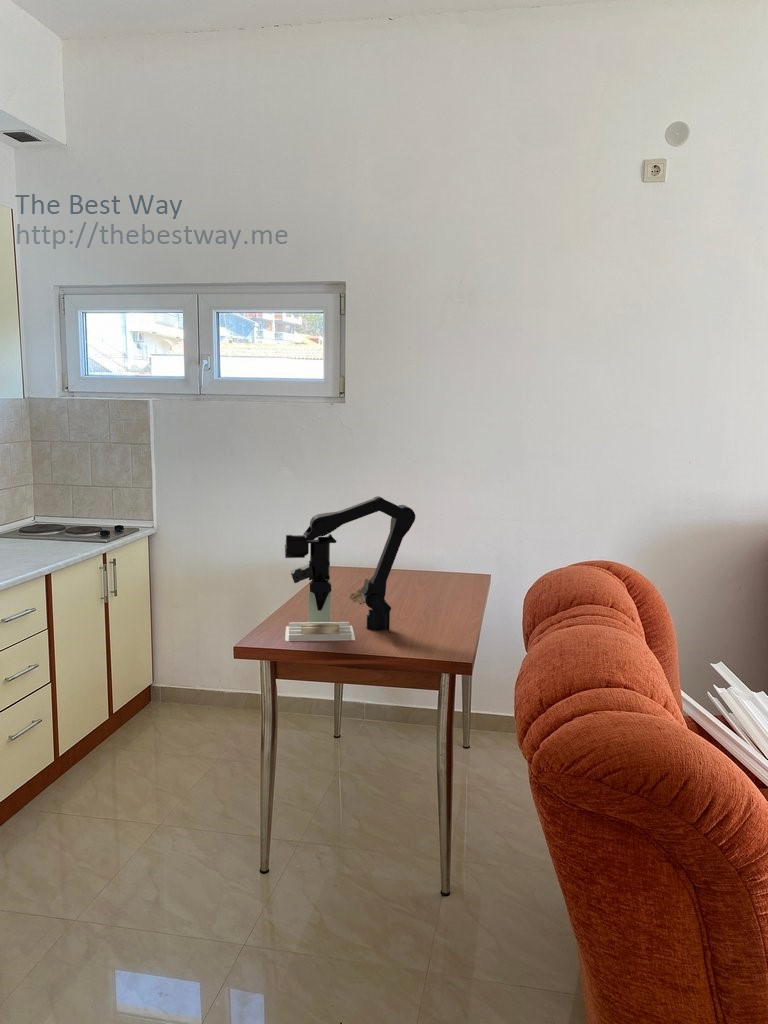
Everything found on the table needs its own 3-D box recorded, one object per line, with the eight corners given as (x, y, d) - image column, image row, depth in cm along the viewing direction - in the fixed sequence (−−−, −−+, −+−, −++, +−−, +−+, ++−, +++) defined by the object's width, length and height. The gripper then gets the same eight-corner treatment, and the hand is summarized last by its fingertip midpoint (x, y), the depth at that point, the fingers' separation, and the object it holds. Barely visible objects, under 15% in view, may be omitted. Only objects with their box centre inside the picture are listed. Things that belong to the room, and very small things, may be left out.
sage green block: (329, 619, 236) (330, 589, 235) (330, 621, 233) (330, 592, 232) (308, 619, 235) (308, 589, 234) (308, 621, 232) (308, 592, 231)
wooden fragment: (362, 587, 296) (362, 584, 296) (390, 589, 294) (390, 587, 293) (340, 603, 272) (340, 600, 272) (370, 606, 269) (370, 603, 269)
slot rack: (351, 628, 240) (351, 620, 239) (355, 643, 225) (355, 635, 225) (286, 629, 238) (286, 621, 237) (285, 644, 223) (285, 635, 223)
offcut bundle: (338, 635, 229) (339, 624, 228) (339, 638, 226) (339, 626, 226) (300, 636, 228) (301, 624, 227) (301, 639, 225) (301, 627, 224)
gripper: (292, 551, 240) (292, 601, 242) (292, 563, 222) (291, 617, 224) (329, 551, 241) (328, 601, 243) (331, 563, 223) (331, 617, 225)
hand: (319, 609), depth 234 cm, fingers closed on sage green block, 3 cm apart
